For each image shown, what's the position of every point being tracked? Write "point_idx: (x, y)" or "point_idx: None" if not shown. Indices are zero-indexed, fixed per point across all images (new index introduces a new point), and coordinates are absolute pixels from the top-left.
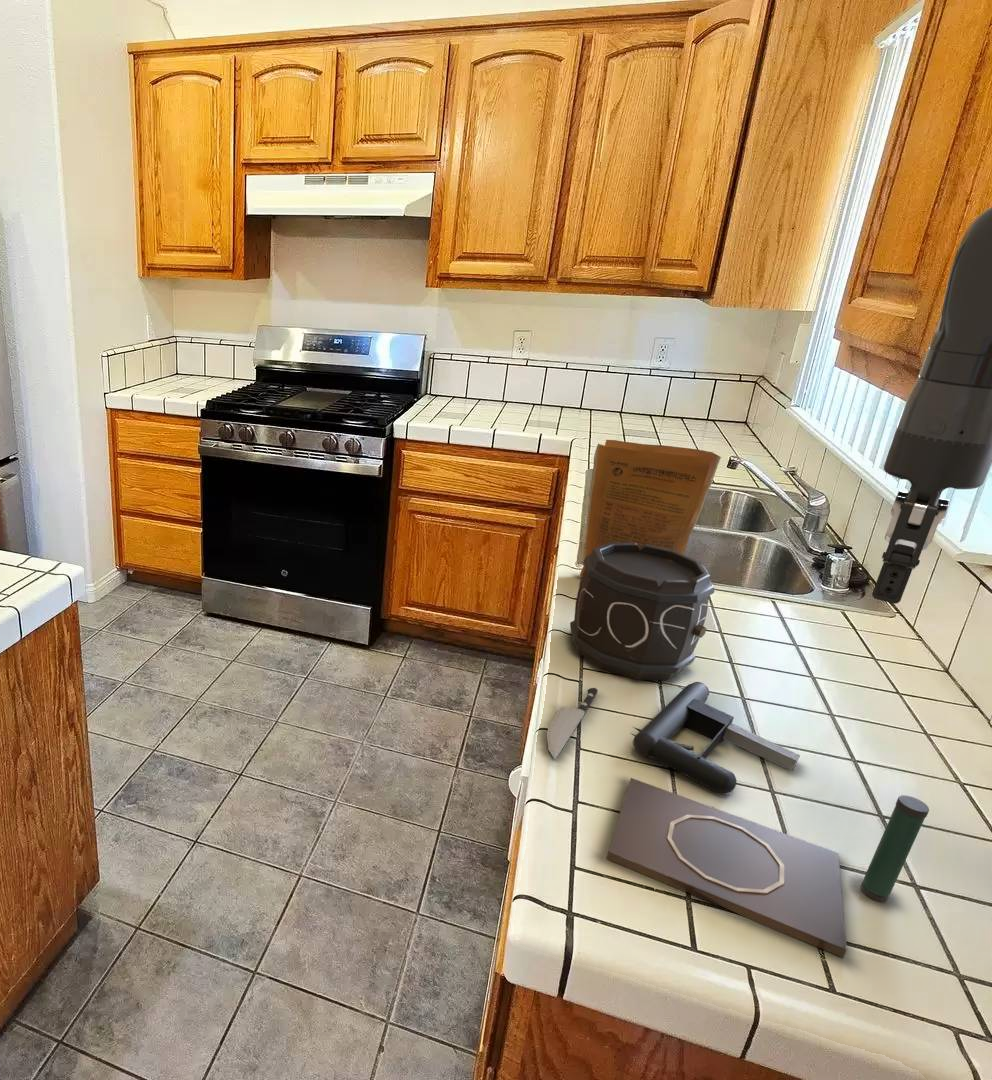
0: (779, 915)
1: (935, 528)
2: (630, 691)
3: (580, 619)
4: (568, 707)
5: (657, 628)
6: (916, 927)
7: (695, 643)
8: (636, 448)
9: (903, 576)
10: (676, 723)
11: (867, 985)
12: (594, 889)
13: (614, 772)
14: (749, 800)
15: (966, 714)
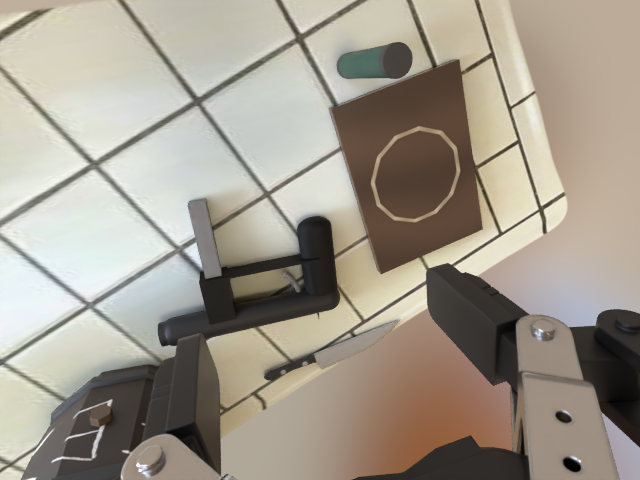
0: (459, 113)
1: (609, 460)
2: (220, 364)
3: None
4: (320, 365)
5: None
6: (365, 21)
7: (92, 400)
8: None
9: (523, 311)
10: (275, 304)
11: (468, 35)
12: (511, 212)
13: (371, 286)
14: (304, 200)
15: None
